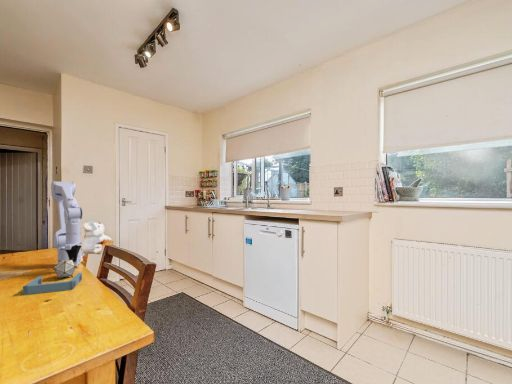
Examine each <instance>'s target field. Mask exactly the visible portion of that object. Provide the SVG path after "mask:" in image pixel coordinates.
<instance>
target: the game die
mask: <svg viewBox="0 0 512 384" xmlns="http://www.w3.org/2000/svg"><path fill="white" fill-rule="evenodd" d="M73 259H74V258H72V260H64V261H60V260H59V263H58V262H57V264H56V265H57V266H56V265H55V266H56V268H52V270H53V271H54V272H55V273H56V274H57V280H60V279H61V278H68V277H71V278H74V276H73V275H74V273H75V271H76V269H79V267H78V265H77V266H75V264H74V262H73Z"/></svg>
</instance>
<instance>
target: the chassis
mask: <svg viewBox="0 0 512 384" xmlns="http://www.w3.org/2000/svg"><path fill="white" fill-rule="evenodd" d="M82 280H83V272H78V273H77V274H75V276H73V277H71V279H70V280H65V281H57V282H48V283H47V282H46V283H45V282H44V283H43V276H37V277H35V278H34V279H33V280H31V281H30V282H28V283H26V284H25V285H23V286H22V295H23V296H28V295H35V294H46V293H53V292H62V291H71V290H74V289H75V288H76V286H78V285H79V283H81V281H82Z"/></svg>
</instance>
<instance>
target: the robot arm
mask: <svg viewBox="0 0 512 384" xmlns="http://www.w3.org/2000/svg"><path fill="white" fill-rule="evenodd" d="M76 188H77V187H76V182H74V181H58V180H57V181H55V180H53V181H52V182H51V184H50V192H51V194H50V195H51V197H52V199H54V200H56V203H57V211H58V220H59V229H58V230H57V231H56V232H54V234H53V247H54V249H56V250H57V264H56V265H55V266H54V267H53V269H55V268H56V266H57V265H58V263H59V260H60V261H64V260H72V258H74V259H73V262H74V264H75V266H77V267H78V265H80V264H81V263H82V250H81V248H82V245H81V244H84V241H82V240H81V238H82V237H81V233H82V232H81V229H82V225H81V221H82V219H83V209H82V207H81V206H80V205H79V203H78V200H77V199H76V198H75V197H74V196H75V192H76Z"/></svg>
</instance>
